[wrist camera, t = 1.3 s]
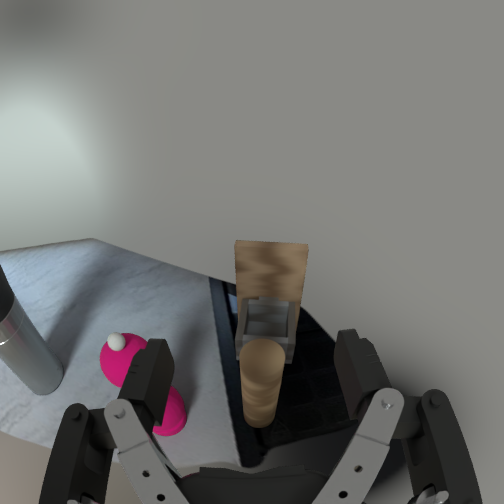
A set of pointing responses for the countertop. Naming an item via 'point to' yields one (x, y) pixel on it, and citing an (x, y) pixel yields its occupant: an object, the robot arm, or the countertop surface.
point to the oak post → (261, 380)
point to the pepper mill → (116, 367)
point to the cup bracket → (269, 292)
